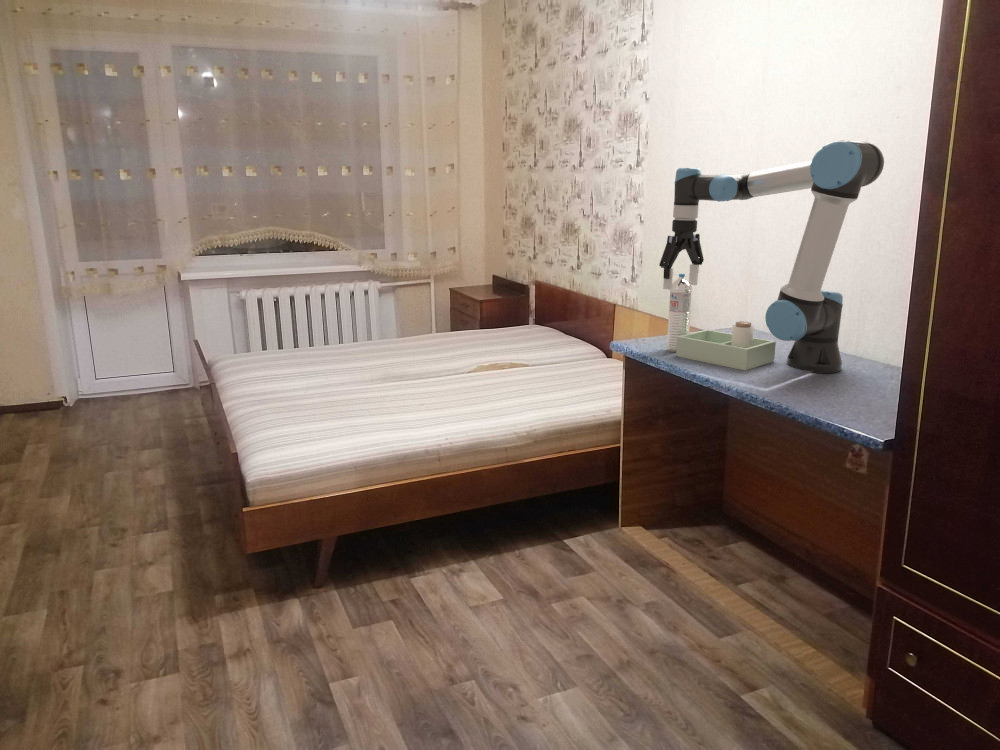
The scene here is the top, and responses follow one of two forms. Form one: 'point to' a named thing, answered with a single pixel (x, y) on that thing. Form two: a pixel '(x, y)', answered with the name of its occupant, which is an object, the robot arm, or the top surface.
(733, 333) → the jar
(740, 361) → the tote
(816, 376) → the top surface
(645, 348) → the top surface
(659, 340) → the top surface
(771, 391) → the top surface
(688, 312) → the water bottle
